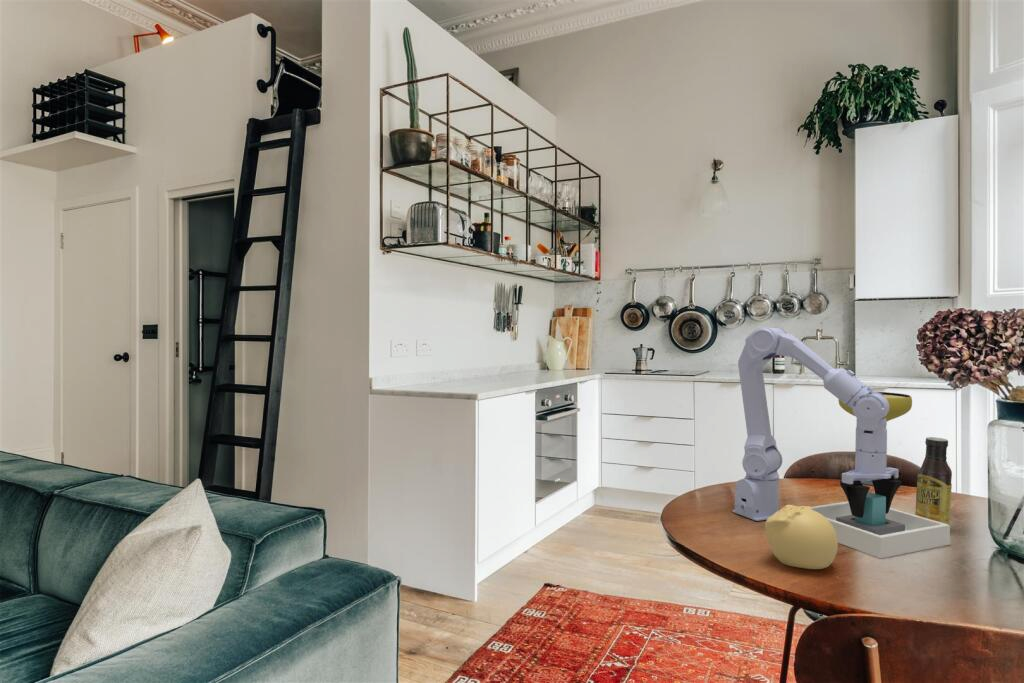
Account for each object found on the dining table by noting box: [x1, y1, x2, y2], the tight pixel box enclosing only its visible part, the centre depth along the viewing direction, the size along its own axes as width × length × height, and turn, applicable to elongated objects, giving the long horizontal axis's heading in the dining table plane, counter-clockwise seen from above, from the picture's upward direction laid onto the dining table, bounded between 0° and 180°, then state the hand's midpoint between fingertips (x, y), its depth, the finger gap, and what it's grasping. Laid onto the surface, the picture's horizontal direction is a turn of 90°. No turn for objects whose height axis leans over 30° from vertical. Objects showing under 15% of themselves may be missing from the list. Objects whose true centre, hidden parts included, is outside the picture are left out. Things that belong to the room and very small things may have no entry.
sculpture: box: [764, 504, 839, 570], centre depth 115 cm, size 11×12×11 cm
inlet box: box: [810, 501, 951, 559], centre depth 130 cm, size 20×20×4 cm
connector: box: [855, 491, 886, 526], centre depth 130 cm, size 4×4×8 cm
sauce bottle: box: [914, 436, 953, 525], centre depth 134 cm, size 7×6×20 cm
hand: (870, 514), depth 130 cm, fingers open, 7 cm apart
